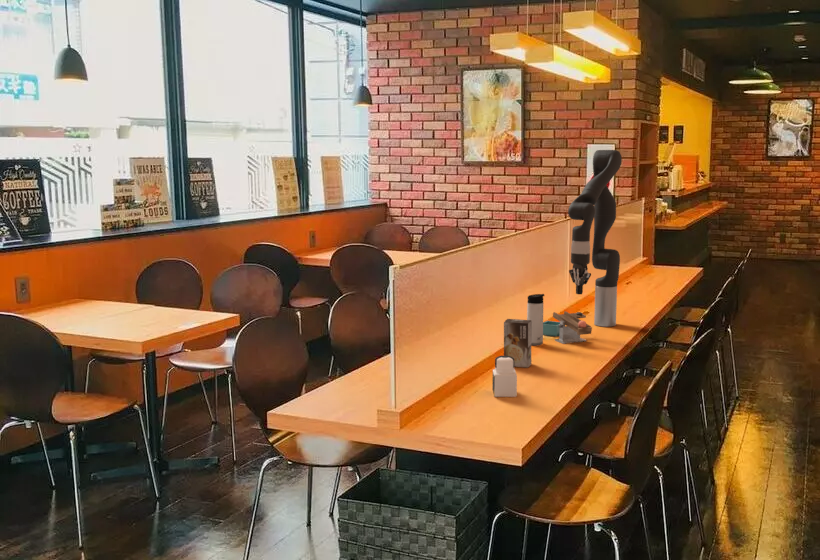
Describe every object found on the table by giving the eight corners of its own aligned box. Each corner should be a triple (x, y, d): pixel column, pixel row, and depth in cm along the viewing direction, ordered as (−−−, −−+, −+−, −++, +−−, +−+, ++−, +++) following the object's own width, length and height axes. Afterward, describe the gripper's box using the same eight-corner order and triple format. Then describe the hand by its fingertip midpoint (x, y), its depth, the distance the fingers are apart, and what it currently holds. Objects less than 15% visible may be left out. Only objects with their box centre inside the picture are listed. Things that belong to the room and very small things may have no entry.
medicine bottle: (492, 390, 274) (492, 354, 272) (514, 390, 274) (515, 354, 272) (493, 397, 267) (494, 359, 265) (516, 397, 267) (517, 359, 265)
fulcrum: (578, 338, 347) (578, 317, 346) (586, 341, 342) (587, 320, 341) (554, 340, 343) (555, 319, 342) (562, 343, 338) (563, 322, 336)
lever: (580, 316, 353) (580, 309, 353) (606, 332, 337) (607, 325, 336) (552, 318, 348) (553, 312, 348) (578, 335, 332) (578, 328, 331)
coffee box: (532, 363, 308) (532, 319, 305) (528, 368, 302) (529, 323, 299) (507, 361, 311) (507, 318, 308) (502, 365, 305) (503, 321, 302)
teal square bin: (546, 331, 361) (547, 320, 360) (563, 333, 357) (564, 322, 356) (539, 334, 354) (539, 323, 354) (556, 336, 350) (556, 325, 349)
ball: (579, 322, 337) (582, 317, 334) (585, 327, 336) (589, 322, 334) (575, 326, 335) (578, 322, 332) (581, 331, 334) (585, 327, 332)
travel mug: (543, 346, 334) (544, 295, 331) (526, 345, 336) (526, 295, 332) (544, 342, 340) (544, 292, 337) (527, 341, 342) (528, 292, 338)
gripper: (563, 250, 352) (562, 292, 354) (581, 254, 339) (580, 297, 342) (579, 249, 354) (577, 291, 357) (597, 253, 342) (596, 296, 345)
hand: (579, 294), depth 349 cm, fingers closed
